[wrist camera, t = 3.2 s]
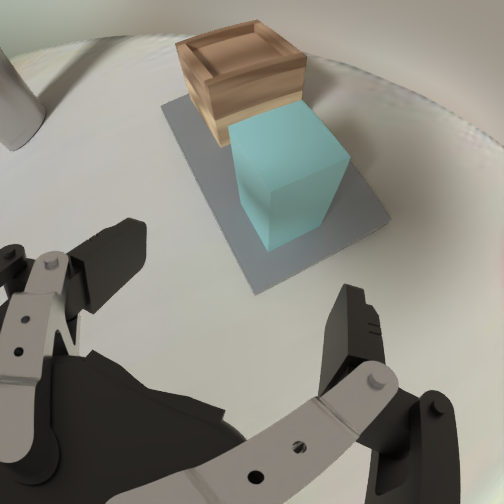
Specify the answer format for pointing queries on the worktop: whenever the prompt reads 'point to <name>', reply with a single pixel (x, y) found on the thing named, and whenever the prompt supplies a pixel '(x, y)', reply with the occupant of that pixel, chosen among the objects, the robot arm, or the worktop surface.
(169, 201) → the worktop surface
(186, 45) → the wooden crate
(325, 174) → the teal brick
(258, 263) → the baseplate
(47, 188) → the worktop surface
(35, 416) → the robot arm
